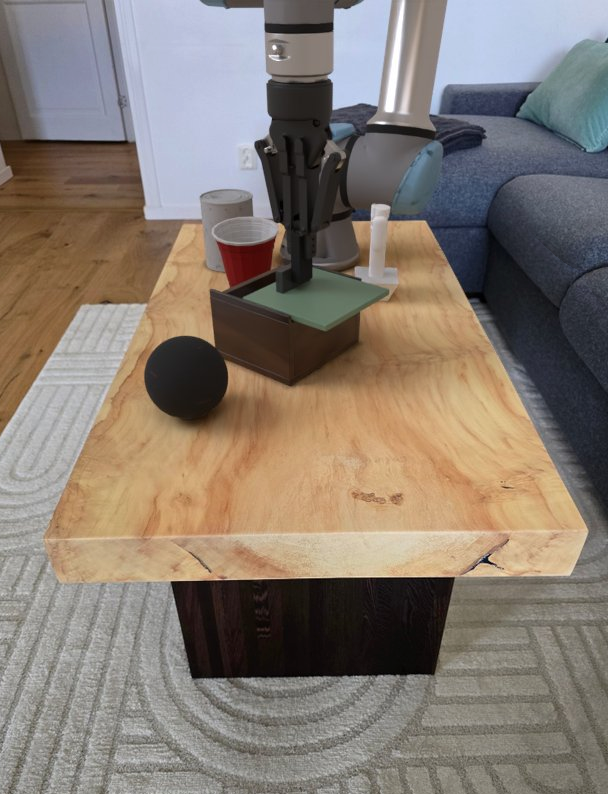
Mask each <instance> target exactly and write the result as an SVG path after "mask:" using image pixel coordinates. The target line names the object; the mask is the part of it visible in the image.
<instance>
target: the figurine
mask: <svg viewBox="0 0 608 794" xmlns="http://www.w3.org/2000/svg"><path fill="white" fill-rule="evenodd" d="M390 214H391V213H390V206H388V205H385V204H372V206H371V210H370V225H369V230H370V239H369V240H370V243H369V263H368V266H354V275H353V276H355V277H358V278H362V282H366V283H369V284H373V285H376V286H380V287H383V288H387V289H389V295H388V296H386V297H384V298H383V299H381V300H379V301H378V302H389V301H390V298H391V297H392V296H393V294H394V292H395V291H396V290H397V287H398V286H399V272H398V271H399V270H398V267H389V266H388V267H385V266H386V265H385V264H386V252H387V251H386V250H387V241H388V226H389V225H388V223H389V218H390Z"/></svg>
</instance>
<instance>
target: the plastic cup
mask: <svg viewBox="0 0 608 794" xmlns="http://www.w3.org/2000/svg"><path fill="white" fill-rule="evenodd" d="M279 232H280V226H279V224H278V223H275V222H274V220H271V219H268V218H265V217H258V216H253V217H237V218H232V219H227V220H225V221H222V222H220V223H218V224H217V225H215V226H214V227H213V228H212V236H213V237H214V238H215V240H216V242H217V245H218V247H219V251H220V253H221V257H222V261H223V264H224V268H225V272H224V273H225V276H226V280H227V282H228V285H229V288H231V287H233V286H236V285H238V284H240V283H242V282H245V281H247V280H249V279H251V278H254V277H256V276H258V275H260V274H263V273H265V272H267V271H269V270H272V263H273V255H274V249H275V243H276V239H277V236H278V235H279Z"/></svg>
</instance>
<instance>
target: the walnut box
mask: <svg viewBox="0 0 608 794" xmlns="http://www.w3.org/2000/svg"><path fill="white" fill-rule="evenodd" d="M288 264H291V258H288V257H284V258H283V263H282V264H281V265H279V266H276V267H274V268H271V270H269V271H267V272H265V273H263V274H260V275H258V276H256V277H254V278H251V279H249V280H247V281H245V282H242V283H240V284H238V285H236V286H233V287H231V288H230V287H228V288H227V289H224V290H222V291H221V290H217V289H214V288H210V289H209V302H210V309H211V310H210V311H211V321H212V330H213V331H212V332H213V341H214V347H215V348H216V349H217V350H218V351H219V352H220V354H221V355H222V357H223V359H224V360H226V361H228V362H231V363H233V364H236V365H238V366H241V367H242V368H245V369H247V370H250V371H252V372H255V373H257V374H260V375H262V376H264V377H266V378H269V379H272V380H274V381H276V382H279V383H282V384H284V385H286V386H288V387H292V386H293V385H295V384H296V383H298V382H299V381H301V380H302V379H304V378H306V377H307V376H308V375H311V374H312V373H314V372H315V371H316V370H318V369H320V368H321V367H323V366H324V365H326V364H327V363H330V362H331V361H332V360H334V359H335V358H337V357H339V356H341V355H342V354H343V353H345V352H346V351H348V350H349V349H351V348H353V347H354V346H356V345H357V344H359V343H360V327H361V326H360V324H361V311H360V312H359V313H357V314H355V315H353V316H352V317H350V318H348V319H347V320H345V321H343V322H341V323H340V324H338V325H336V326H335V327H333V328H331V329H329V330H328V331H326V332H325V331H322V330H320V329H317V328H314V327H311V326H308V325H305V324H302V323H299V322H297V321H294V320H291V316H290V315H287V314H284V313H282V312H279V311H276V310H273V309H270V308H267V307H264V306H261V305H258V304H255V303H252V302H250V301H247V300H244V299H243V297H245V296H247V295H249V294H251V293H253V292H256V291H258V290H260V289H262V288H264V287H266V286H268V285H271V284H273V283H275V282H276V270H277V269H279V268H282V267H284V266H286V265H288ZM313 268H317V269H320V270H324V271H327V272H331V273H334V274H338V275H341V276H345V277H348V278H352V279H355V280H359V281H362V278H358V277H355V276H354V275H351V274H347V273H345V272H341V271H334V270H330V269H327V268H323V267H320V266H316V265H313Z"/></svg>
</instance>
